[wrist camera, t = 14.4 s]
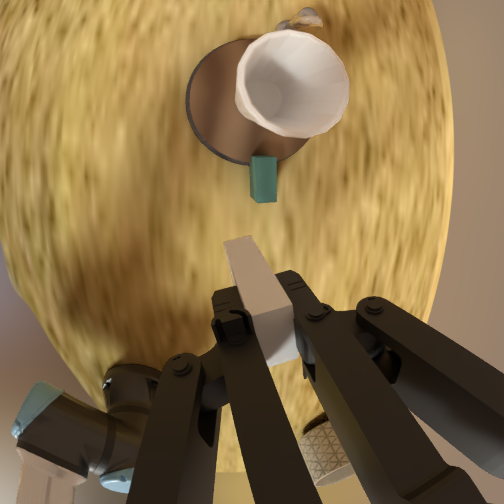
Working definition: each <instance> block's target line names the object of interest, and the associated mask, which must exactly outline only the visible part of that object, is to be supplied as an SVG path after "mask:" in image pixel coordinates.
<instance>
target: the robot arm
mask: <svg viewBox="0 0 504 504" xmlns="http://www.w3.org/2000/svg"><path fill="white" fill-rule="evenodd" d="M223 243H224V247H225V251H226V255H227V259H228V263H229V267H230V271H231V275H232V279H233V283H234V286H233V287H229V288H225V289H221V290H217V291H215V292H214V294H213V296H212V305H213V310H214V316H215V317H214V318H213V319H212V323H211V326H212V329H213V332H214V335H215V338H216V340H217V343H216V344H215V346H214V347H213V348H212V349H211V350H210V351H208V352H207V353H205V354H203V355H201V356H199V357H197V356H196V355H194V354H191V353H182V354H178V355H176V356H174V357H171V358H170V359H169V360H168V361H167V362H166V364H165V365H164V367H163V370H162V373H161V372H159V371H157V370H155V369H152V368H150V367H146V366H142V365H135V364H125V365H119V366H116V367H113V368H112V369H110V370H109V371H108V372H107V373H106V374H105V376H104V380H103V385H102V391H103V396H104V401H105V406H106V410H107V413H105V412H103V411H101V410H98V409H96V408H94V407H92V406H90V405H88V404H86V403H84V402H82V401H80V400H78V399H76V398H74V397H73V396H71V395H69V394H68V393H66V392H65V391H64V390H60V389H58V388H56V387H54V386H52V385H51V384H49V383H47V382H44V381H39V382H37V383H35V384H34V386H33V387H32V389H31V390H30V392H29V394H28V396H27V397H26V399H25V401H24V403H23V405H22V406H21V409H20V411H19V412H18V415H17V418H16V420H15V422H14V424H13V426H12V429H11V433H12V434H13V436H14V437H15V438H18V442H17V446H16V449H17V452H18V453H19V455H20V457H21V459H22V462H23V464H22V469H21V474H20V480H19V486H18V493H17V502H16V504H74V497H75V489H76V486H77V485H79V484H81V483H83V482H85V481H87V476H88V472H91V473H93V474H96V475H98V476H100V478H99V480H100V482H101V485H102V486H104V487H105V488H108V489H110V490H113V491H117V492H122V493H128V497H127V501H126V504H213V492H214V482H215V472H216V461H217V451H218V441H219V431H220V422H221V412H222V406H224V405H226V404H228V403H230V406H231V411H232V415H233V420H234V424H235V428H236V433H237V437H238V441H239V445H240V449H241V453H242V457H243V461H244V465H245V468H246V472H247V476H248V480H249V483H250V487H251V491H252V494H253V498H254V501H255V504H322V501H321V499H320V497H319V494H318V492H317V489H316V487H315V485H314V482H313V480H312V477H311V475H310V473H309V470H308V468H307V465H306V463H305V460H304V458H303V455H302V453H301V451H300V448H299V446H298V443H297V441H296V438H295V436H294V433H293V431H292V428H291V425H290V423H289V420H288V418H287V415H286V413H285V410H284V408H283V405H282V402H281V400H280V397H279V395H278V392H277V389H276V387H275V384H274V381H273V379H272V376H271V373H270V371H269V368H268V367H271V366H274V365H278V364H281V363H284V362H287V361H290V360H293V359H296V358H298V351H299V353H300V355H301V357H302V366H303V376H304V379H306V378H307V376H308V378H309V380H310V383H311V385H312V387H313V389H314V391H315V393H316V395H317V397H318V399H319V401H320V403H321V405H322V407H323V409H324V411H325V413H326V415H327V417H328V419H329V421H330V423H331V425H332V427H333V429H334V431H335V433H336V435H337V437H338V439H339V441H340V443H341V445H342V447H343V449H344V451H345V453H346V455H347V457H348V459H349V461H350V463H351V465H352V467H353V469H354V471H355V473H356V475H357V476H358V479H359V481H360V483H361V485H362V487H363V489H364V491H365V493H366V495H367V497H368V498H369V500H370V502H371V504H490V503H486V501H485V499H484V498H483V497H482V495H481V493H480V492H479V490H478V488H477V487H476V485H475V484H474V482H473V481H472V479H471V478H470V476H469V475H468V474H467V473H466V472H465V471H464V470H463V469H461V468H460V467H456V466H450V465H448V464H447V463H446V462H445V461H444V460H443V459H442V457H441V456H440V454H439V453H438V451H437V450H436V448H435V447H434V445H433V444H432V442H431V441H430V439H429V438H428V436H427V435H426V434H425V432H424V431H423V429H422V428H421V426H420V425H419V424H418V422H417V421H416V419H415V418H414V416H413V415H412V414H411V412H413V413H414V414H415V415H416V416H417V417H419V418H420V419H421V420H422V421H424V422H425V423H426V424H427V425H428V426H430V427H431V428H432V429H433V430H434V431H436V432H437V433H438V434H439V435H441V436H442V437H443V438H444V439H445V440H447V441H448V442H449V443H450V444H452V445H453V446H454V447H455V448H456V449H458V450H459V451H460V452H462V453H463V454H464V455H465V456H466V457H468V458H469V459H470V460H471V461H473V462H474V463H475V464H476V465H478V466H479V467H480V468H482V469H483V470H485V471H486V472H488V473H489V474H491V475H493V476H496V477H498V478H501V479H504V374H503V373H502V372H500V371H499V370H497V369H496V368H494V367H493V366H491V365H490V364H488V363H487V362H485V361H484V360H482V359H480V358H479V357H478V356H476V355H474V354H473V353H471V352H470V351H468V350H467V349H465V348H464V347H462V346H461V345H459V344H457V343H456V342H454V341H453V340H451V339H450V338H448V337H446V336H445V335H443V334H442V333H440V332H438V331H437V330H435V329H434V328H432V327H430V326H429V325H427V324H426V323H424V322H422V321H421V320H419V319H418V318H416V317H414V316H413V315H411V314H409V313H408V312H406V311H405V310H403V309H401V308H400V307H398V306H396V305H395V304H393V303H391V302H390V301H388V300H386V299H384V298H382V297H376V296H372V297H366V298H364V299H362V300H361V301H359V302H358V304H357V307H356V310H349V311H335V310H334V309H333V308H332V307H331V306H329V305H327V304H324V303H320V301H319V300H318V299H317V297H316V296H315V295H314V293H313V292H312V291H311V289H310V288H309V287H308V286H307V284H306V283H305V281H304V280H303V279H302V277H301V276H300V275H299V274H298V273H296V272H294V271H292V270H288V271H285V272H281V273H277V274H274V273H273V271H272V270H271V268H270V266H269V265H268V263H267V261H266V260H265V258H264V256H263V255H262V253H261V251H260V250H259V248H258V246H257V245H256V243H255V242H254V240H253V238H252V237H251V235H250V236H246V237H242V238H238V239H234V240H230V241H226V242H223ZM306 374H307V375H306ZM409 410H410V411H411V412H410V411H409Z"/></svg>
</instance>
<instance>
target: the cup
mask: <svg viewBox="0 0 504 504" xmlns="http://www.w3.org/2000/svg"><path fill="white" fill-rule="evenodd" d="M349 84H350V82H349V79H348V76H347V73H346V70H345V67H344V64H343V62H342V60H341V59H340V58H339V57H338V55H337V54H336V53H335V52H334V51H333V49H332V48H331V47H330V46H329V45H328V44H326V43H325V42H323V41H322V40H320V39H318V38H317V37H315V36H313V35H312V34H310V33H305V32H301V31H296V30H291V29H286V30H280V31H274V32H269V33H266V34H264V35H263V36H261V37H260V38H258V39H257V40H255V41H254V42H252V43H251V44H250V45H249V46H248V47H247V49H246V51H245V53H244V54H243V56H242V58H241V60H240V62H239V63H238V67H237V78H236V93H235V103H236V105H237V108H238V110H239V111H240V113H241V114H242V115H243V116H244V117H245V118H247V119H249V120H252V121H254V122H256V123H257V124H258V125H260V126H262V127H264V128H266V129H268V130H270V131H272V132H274V133H276V134H279V135H281V136H284V137H296V138H309V137H312V136H316V135H319V134H322V133H325V132H327V131H328V130H329V129H330V128H331V127H332V126H334V125H335V124H336V123H337V122H338V121H339V120H341V118H342V115H343V113H344V111H345V109H346V107H347V105H348V102H349Z"/></svg>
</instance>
